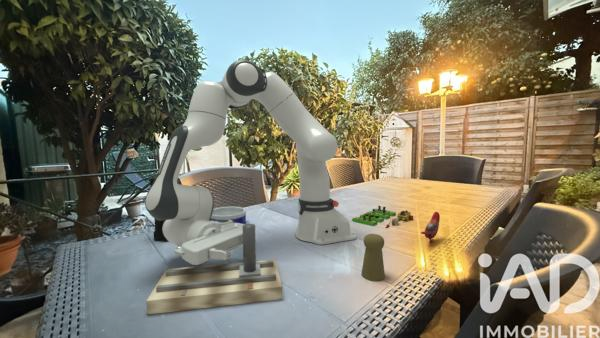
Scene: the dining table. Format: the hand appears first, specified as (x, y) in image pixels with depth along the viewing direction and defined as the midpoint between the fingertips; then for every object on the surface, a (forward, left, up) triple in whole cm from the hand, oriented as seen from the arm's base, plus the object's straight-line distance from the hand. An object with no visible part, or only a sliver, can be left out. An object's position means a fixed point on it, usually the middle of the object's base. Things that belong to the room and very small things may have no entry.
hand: (242, 248), depth 67 cm
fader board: (+5, +1, -9) cm, 11 cm away
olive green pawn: (-34, +2, -9) cm, 35 cm away
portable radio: (+28, -38, -9) cm, 48 cm away
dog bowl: (+7, -51, -9) cm, 52 cm away
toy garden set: (-61, -43, -10) cm, 75 cm away
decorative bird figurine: (-63, -14, -9) cm, 65 cm away
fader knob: (-2, +1, -6) cm, 6 cm away
